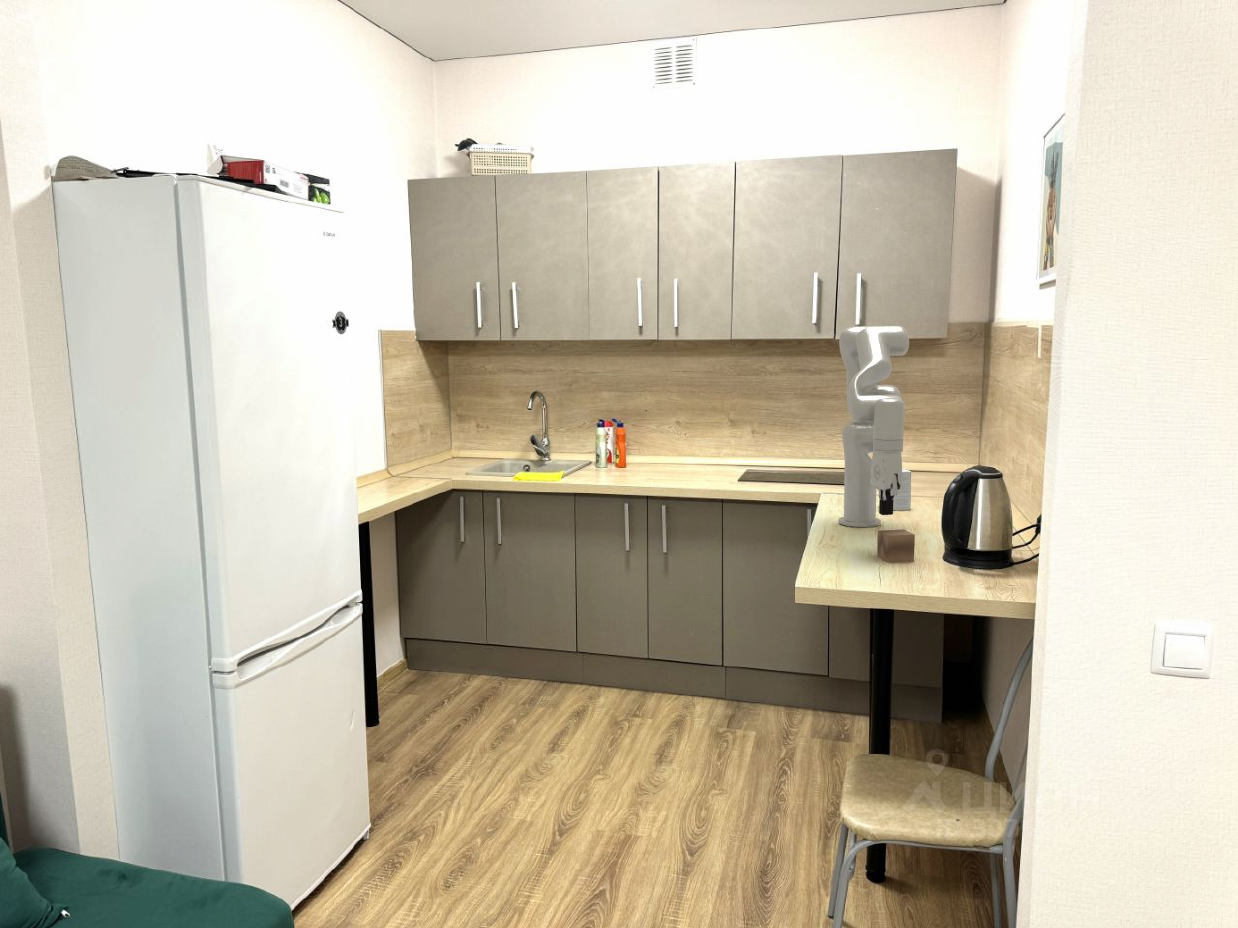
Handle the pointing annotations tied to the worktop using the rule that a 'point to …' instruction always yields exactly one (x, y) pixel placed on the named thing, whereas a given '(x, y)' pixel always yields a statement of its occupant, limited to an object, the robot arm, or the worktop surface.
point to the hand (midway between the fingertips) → (886, 514)
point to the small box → (903, 493)
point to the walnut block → (895, 545)
